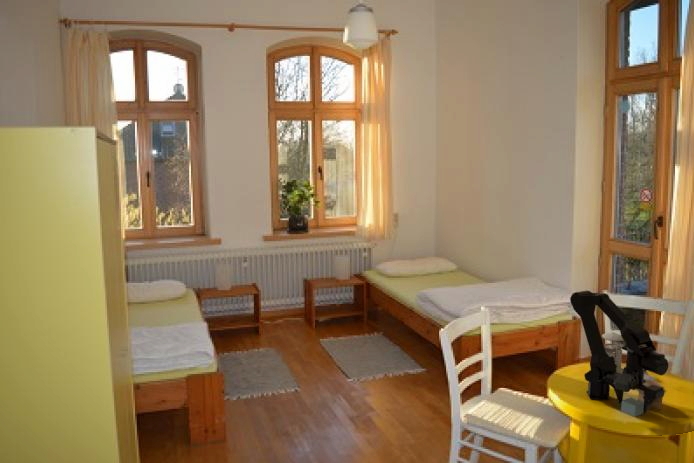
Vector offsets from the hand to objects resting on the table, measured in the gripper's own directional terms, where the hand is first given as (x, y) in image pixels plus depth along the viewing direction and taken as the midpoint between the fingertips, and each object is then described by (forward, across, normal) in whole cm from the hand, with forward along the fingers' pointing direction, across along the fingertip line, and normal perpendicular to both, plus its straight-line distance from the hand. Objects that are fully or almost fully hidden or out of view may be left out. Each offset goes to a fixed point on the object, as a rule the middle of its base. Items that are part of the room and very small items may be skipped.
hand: (632, 408), depth 215 cm
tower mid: (-2, 0, +11) cm, 11 cm away
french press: (+2, -27, +28) cm, 39 cm away
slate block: (+2, 0, 0) cm, 2 cm away
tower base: (+2, 0, +11) cm, 11 cm away
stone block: (+2, -13, +25) cm, 28 cm away
